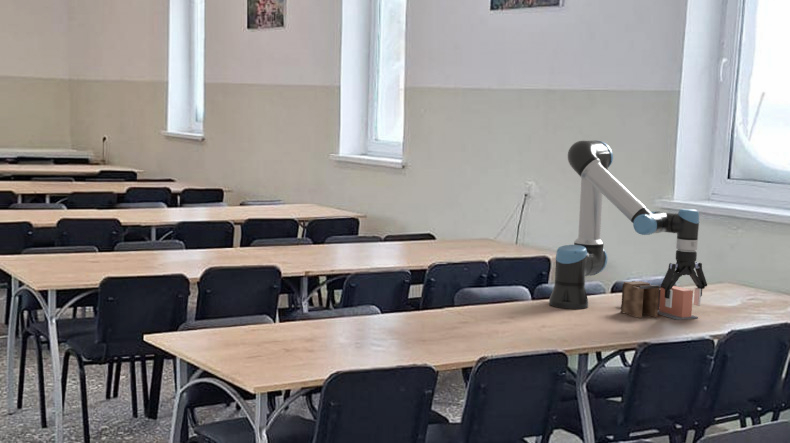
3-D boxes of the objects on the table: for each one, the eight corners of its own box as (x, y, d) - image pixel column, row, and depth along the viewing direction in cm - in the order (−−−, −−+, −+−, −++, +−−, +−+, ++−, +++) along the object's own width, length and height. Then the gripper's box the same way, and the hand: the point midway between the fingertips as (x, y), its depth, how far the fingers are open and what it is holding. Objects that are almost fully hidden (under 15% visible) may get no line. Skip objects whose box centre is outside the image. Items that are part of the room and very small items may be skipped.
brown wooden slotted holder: (620, 312, 376) (622, 281, 375) (638, 311, 380) (640, 280, 379) (639, 317, 367) (641, 286, 365) (657, 316, 370) (659, 285, 369)
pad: (652, 312, 378) (652, 310, 378) (673, 311, 382) (673, 309, 382) (676, 319, 366) (676, 318, 366) (697, 318, 370) (697, 316, 370)
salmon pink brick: (659, 310, 379) (660, 285, 378) (668, 310, 381) (670, 284, 380) (681, 317, 367) (683, 291, 366) (691, 316, 369) (693, 290, 368)
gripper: (666, 252, 359) (662, 309, 361) (719, 250, 369) (715, 306, 372) (653, 249, 366) (649, 305, 368) (705, 248, 376) (701, 302, 379)
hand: (682, 306), depth 370 cm, fingers open, 13 cm apart
